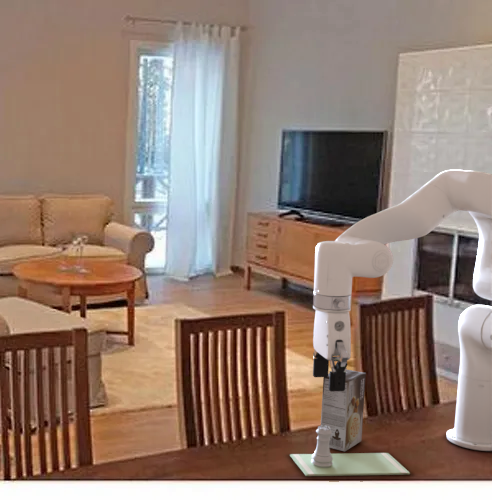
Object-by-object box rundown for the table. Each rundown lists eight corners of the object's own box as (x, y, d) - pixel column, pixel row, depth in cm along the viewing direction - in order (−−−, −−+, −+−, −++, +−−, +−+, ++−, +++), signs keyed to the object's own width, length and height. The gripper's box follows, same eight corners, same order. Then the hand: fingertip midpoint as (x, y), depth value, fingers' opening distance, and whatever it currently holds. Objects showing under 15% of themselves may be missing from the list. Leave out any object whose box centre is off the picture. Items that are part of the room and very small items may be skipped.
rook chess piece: (308, 460, 177) (310, 423, 176) (328, 460, 177) (331, 423, 176) (314, 468, 172) (316, 431, 171) (335, 468, 173) (338, 431, 172)
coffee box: (335, 434, 194) (340, 367, 192) (362, 441, 191) (367, 372, 188) (318, 445, 187) (322, 375, 185) (345, 452, 183) (350, 381, 181)
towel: (387, 454, 183) (388, 452, 183) (409, 474, 172) (410, 472, 172) (289, 455, 180) (289, 454, 180) (305, 476, 169) (306, 474, 169)
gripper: (366, 310, 163) (361, 396, 165) (334, 293, 180) (331, 371, 182) (328, 311, 162) (325, 397, 164) (300, 294, 179) (297, 372, 181)
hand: (328, 383), depth 173 cm, fingers open, 9 cm apart
